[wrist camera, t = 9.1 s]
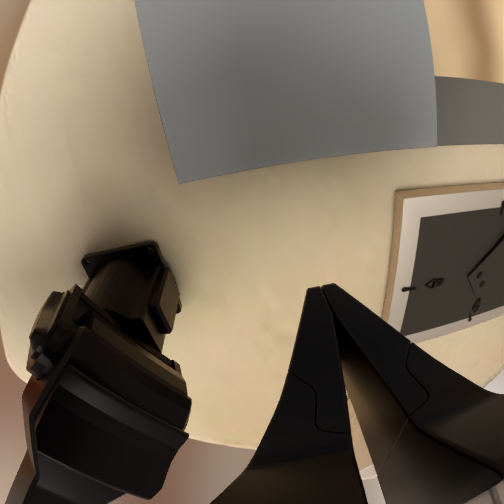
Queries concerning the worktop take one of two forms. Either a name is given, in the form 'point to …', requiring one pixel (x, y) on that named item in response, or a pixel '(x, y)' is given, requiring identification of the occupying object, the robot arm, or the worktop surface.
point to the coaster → (467, 38)
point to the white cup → (360, 447)
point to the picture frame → (446, 260)
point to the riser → (287, 80)
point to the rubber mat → (469, 111)
